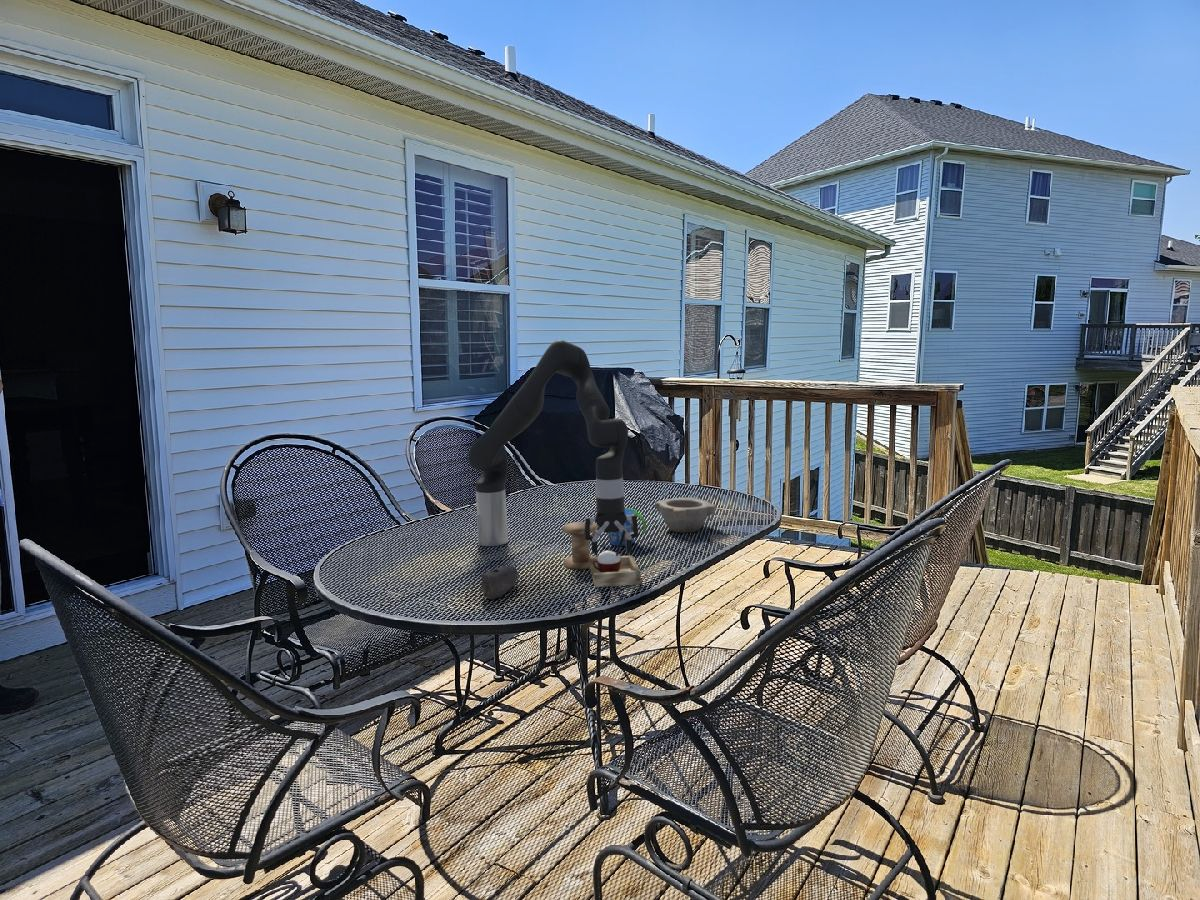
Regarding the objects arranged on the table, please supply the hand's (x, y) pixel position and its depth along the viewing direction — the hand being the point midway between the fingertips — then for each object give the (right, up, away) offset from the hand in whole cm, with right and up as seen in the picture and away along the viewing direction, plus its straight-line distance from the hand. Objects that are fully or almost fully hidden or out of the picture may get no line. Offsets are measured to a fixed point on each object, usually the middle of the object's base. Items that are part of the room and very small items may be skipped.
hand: (611, 553), depth 196 cm
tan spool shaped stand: (-9, -5, +13) cm, 16 cm away
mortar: (+25, +1, +46) cm, 52 cm away
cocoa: (0, -6, +1) cm, 6 cm away
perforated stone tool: (-28, -9, -9) cm, 31 cm away
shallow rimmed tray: (+1, -6, +1) cm, 6 cm away
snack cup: (+4, -2, +32) cm, 32 cm away
